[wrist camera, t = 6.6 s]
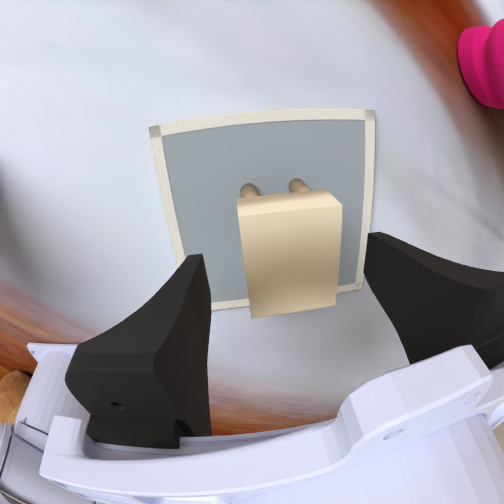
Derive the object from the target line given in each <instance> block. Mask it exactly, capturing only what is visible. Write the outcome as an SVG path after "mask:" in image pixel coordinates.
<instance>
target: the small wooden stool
mask: <svg viewBox="0 0 504 504" xmlns="http://www.w3.org/2000/svg"><path fill="white" fill-rule="evenodd" d="M288 187H289V190H290V192H291V193H283V194H273V195H264V196H259V193H258V190H257V188H256V186H255V185H254V184H251V183H247V184H244V185H243V186H242V187H241V190H240V193H241V198H238V199H236V201H237V211H238V219H239V227H240V235H241V243H242V251H243V259H244V267H245V274H246V282H247V290H248V297H249V305H250V313H251V318H258V317H265V316H272V315H280V314H286V313H293V312H300V311H306V310H312V309H318V308H324V307H330V306H335V305H336V296H337V286H338V275H339V262H340V248H341V231H342V208H343V205H342V204H341V203H340V202H339V201H338V200H337V199H336V198H335V197H334V196H333V195H331V194H330V193H329V192H328V191H327V190H315V191H311V189H310V188H309V187H308V186H307V185H306V184H305V183H304V182H303V181H302V180H301V179H298V178H295V179H293V180H291V181H290V183H289V186H288Z"/></svg>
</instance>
